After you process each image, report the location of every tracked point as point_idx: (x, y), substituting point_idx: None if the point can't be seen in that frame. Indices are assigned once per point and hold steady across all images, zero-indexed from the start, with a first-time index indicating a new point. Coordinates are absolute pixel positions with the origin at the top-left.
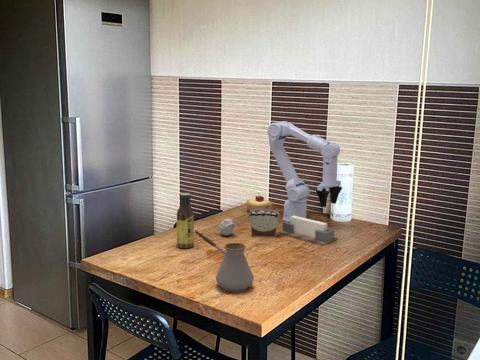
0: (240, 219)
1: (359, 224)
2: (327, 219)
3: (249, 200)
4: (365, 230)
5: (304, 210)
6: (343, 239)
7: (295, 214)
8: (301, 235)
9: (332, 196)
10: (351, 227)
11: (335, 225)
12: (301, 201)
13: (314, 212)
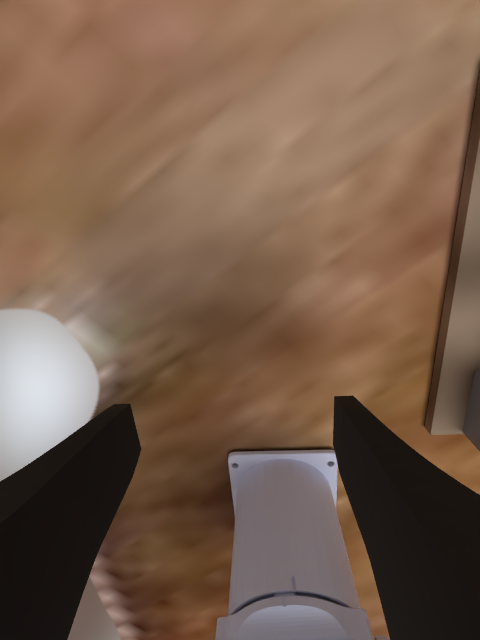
0: None
1: (20, 206)
2: None
3: None
4: (91, 62)
5: (290, 522)
6: (442, 23)
7: (338, 524)
8: None
9: (95, 510)
10: (125, 200)
11: (181, 305)
12: (337, 618)
13: None
